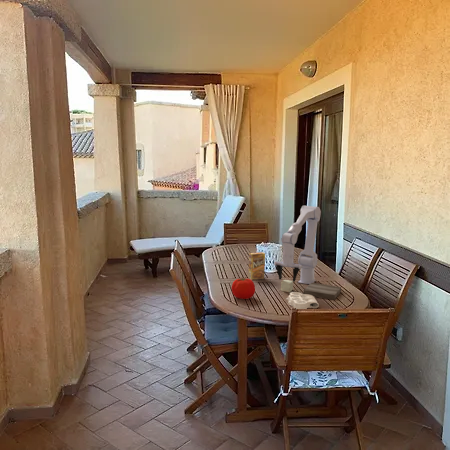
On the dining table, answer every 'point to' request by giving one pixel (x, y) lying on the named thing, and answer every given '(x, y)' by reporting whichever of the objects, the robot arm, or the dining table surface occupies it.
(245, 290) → the tomato
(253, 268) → the candy box
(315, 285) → the taupe base
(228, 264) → the dining table surface
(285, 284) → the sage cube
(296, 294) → the white brass knuckles
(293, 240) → the robot arm
